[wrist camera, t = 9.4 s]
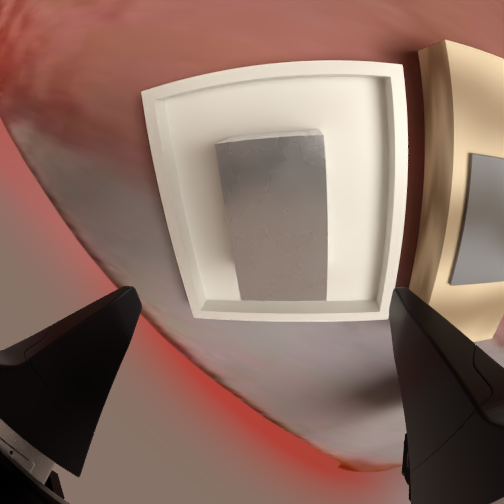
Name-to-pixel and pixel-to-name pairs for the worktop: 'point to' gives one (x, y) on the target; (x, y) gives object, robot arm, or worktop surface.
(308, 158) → the light grey block
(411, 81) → the worktop surface
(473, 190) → the light wood plank
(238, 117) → the parts tray
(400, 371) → the robot arm
